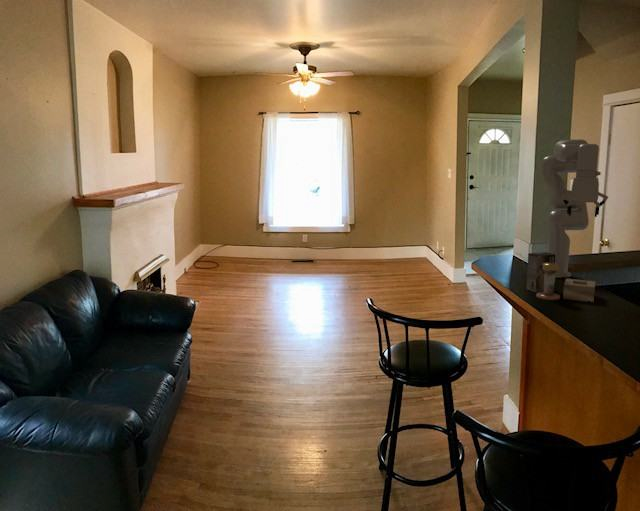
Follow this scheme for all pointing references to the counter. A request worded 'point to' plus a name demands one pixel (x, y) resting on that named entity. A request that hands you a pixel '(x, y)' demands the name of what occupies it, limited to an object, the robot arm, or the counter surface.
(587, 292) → the eye block
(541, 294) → the coaster
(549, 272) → the pin
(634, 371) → the counter surface
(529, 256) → the coffee box
